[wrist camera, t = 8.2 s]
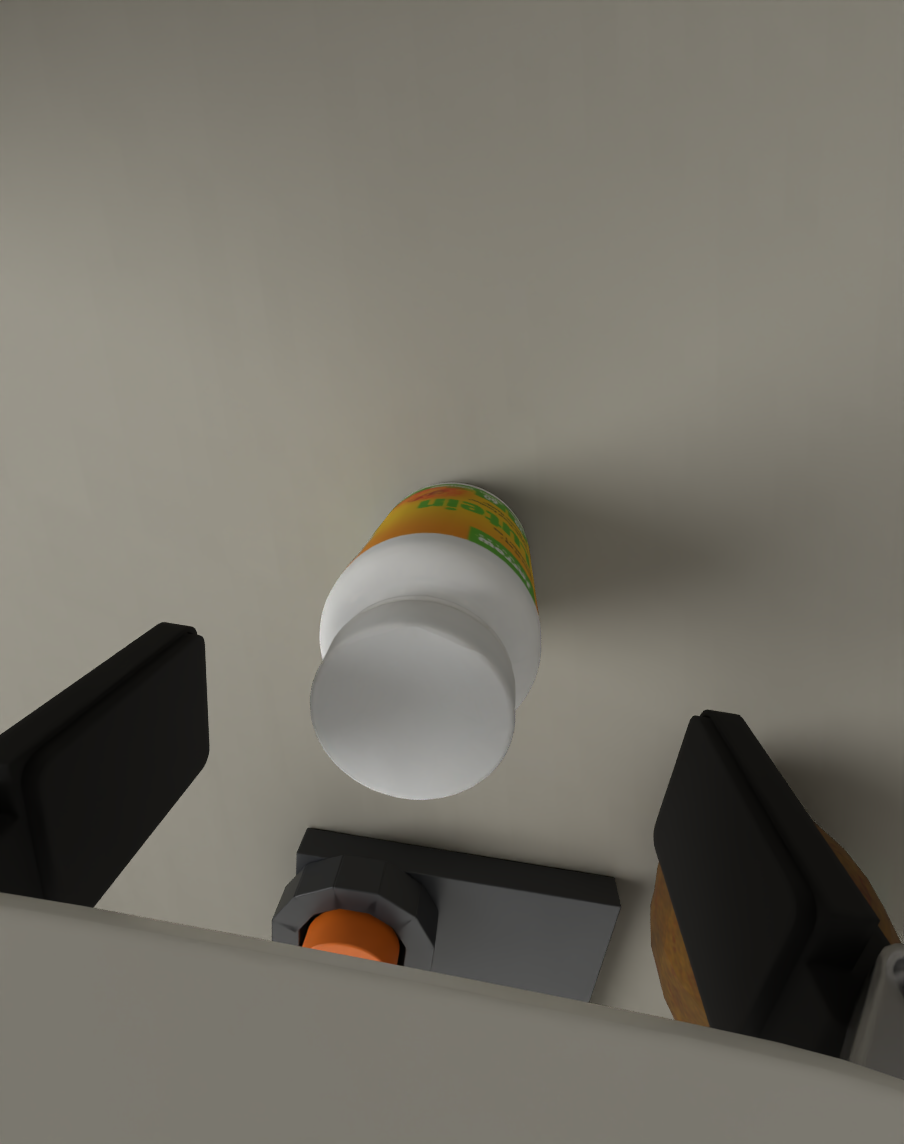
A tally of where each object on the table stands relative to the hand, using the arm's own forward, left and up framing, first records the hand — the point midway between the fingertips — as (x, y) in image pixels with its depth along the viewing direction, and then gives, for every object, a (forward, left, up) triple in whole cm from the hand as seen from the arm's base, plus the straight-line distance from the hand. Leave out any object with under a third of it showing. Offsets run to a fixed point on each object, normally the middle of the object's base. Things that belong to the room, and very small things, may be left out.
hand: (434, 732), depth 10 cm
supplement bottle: (0, 0, -10) cm, 10 cm away
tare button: (+17, -2, -7) cm, 18 cm away
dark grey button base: (+22, +2, -10) cm, 24 cm away
